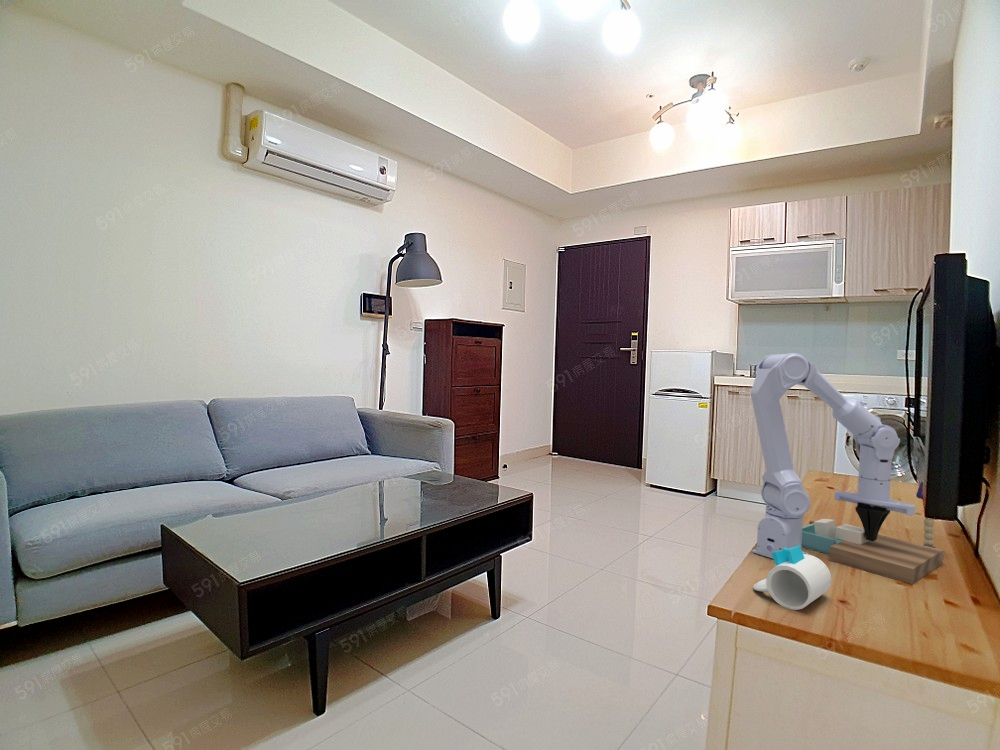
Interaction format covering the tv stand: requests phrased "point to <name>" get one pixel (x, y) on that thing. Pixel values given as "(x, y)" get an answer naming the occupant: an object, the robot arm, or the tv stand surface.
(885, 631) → the tv stand surface
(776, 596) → the mug
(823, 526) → the tile
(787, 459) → the robot arm
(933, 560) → the walnut board
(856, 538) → the tile
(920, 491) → the toy lamp
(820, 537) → the box
